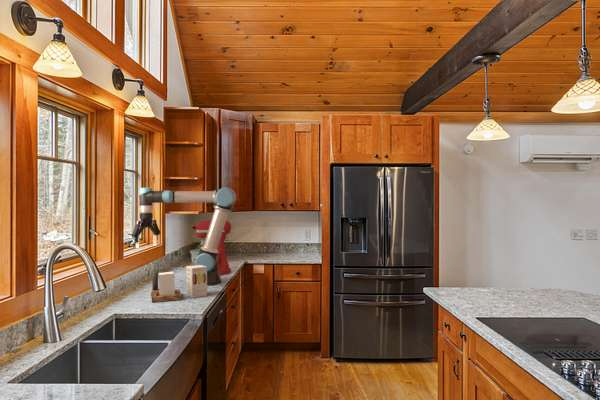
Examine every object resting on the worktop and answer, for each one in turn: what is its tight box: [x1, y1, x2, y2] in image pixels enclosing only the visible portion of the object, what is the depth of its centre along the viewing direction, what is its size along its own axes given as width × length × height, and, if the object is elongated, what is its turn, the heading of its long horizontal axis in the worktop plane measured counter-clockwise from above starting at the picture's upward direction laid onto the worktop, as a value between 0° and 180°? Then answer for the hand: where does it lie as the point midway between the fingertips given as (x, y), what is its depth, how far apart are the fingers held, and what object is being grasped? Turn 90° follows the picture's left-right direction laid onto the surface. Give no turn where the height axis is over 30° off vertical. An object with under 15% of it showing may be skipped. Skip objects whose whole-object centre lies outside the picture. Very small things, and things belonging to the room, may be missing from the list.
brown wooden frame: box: [150, 270, 182, 303], centre depth 228 cm, size 16×25×13 cm, turn 18°
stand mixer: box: [189, 219, 232, 276], centre depth 299 cm, size 24×32×40 cm
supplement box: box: [185, 265, 208, 299], centre depth 229 cm, size 10×9×17 cm
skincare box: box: [158, 271, 176, 296], centre depth 221 cm, size 8×6×15 cm
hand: (146, 246), depth 246 cm, fingers open, 13 cm apart
